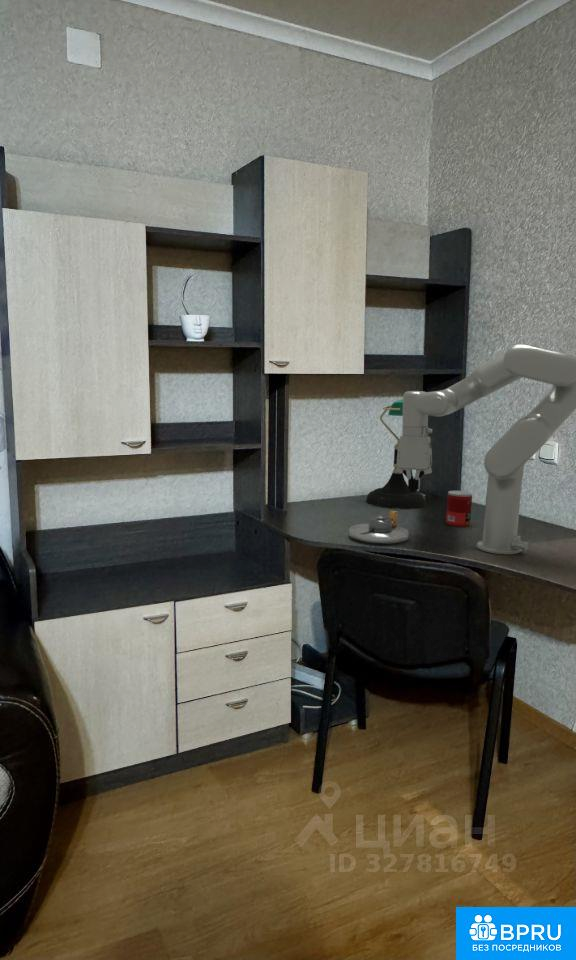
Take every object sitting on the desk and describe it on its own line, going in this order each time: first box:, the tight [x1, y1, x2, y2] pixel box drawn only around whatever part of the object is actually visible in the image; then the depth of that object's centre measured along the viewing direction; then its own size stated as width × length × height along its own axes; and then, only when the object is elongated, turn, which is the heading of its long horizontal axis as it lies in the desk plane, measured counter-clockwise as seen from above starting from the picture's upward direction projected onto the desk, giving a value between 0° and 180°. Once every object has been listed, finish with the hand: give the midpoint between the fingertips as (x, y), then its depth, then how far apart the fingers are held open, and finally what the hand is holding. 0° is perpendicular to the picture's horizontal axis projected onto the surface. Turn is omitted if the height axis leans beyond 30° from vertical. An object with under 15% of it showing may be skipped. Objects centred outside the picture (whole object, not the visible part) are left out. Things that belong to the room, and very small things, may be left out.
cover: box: [368, 515, 392, 534], centre depth 212 cm, size 7×7×4 cm
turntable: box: [348, 510, 409, 544], centre depth 212 cm, size 18×18×7 cm
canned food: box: [445, 490, 473, 528], centre depth 234 cm, size 8×8×11 cm
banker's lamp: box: [365, 398, 427, 510], centre depth 266 cm, size 26×23×40 cm
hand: (413, 491), depth 213 cm, fingers closed
